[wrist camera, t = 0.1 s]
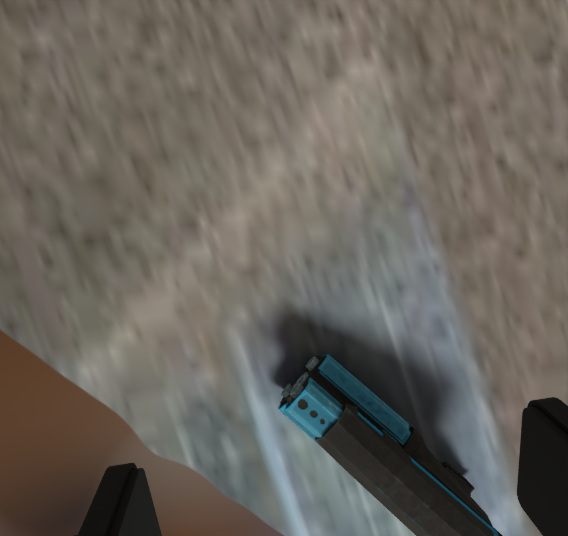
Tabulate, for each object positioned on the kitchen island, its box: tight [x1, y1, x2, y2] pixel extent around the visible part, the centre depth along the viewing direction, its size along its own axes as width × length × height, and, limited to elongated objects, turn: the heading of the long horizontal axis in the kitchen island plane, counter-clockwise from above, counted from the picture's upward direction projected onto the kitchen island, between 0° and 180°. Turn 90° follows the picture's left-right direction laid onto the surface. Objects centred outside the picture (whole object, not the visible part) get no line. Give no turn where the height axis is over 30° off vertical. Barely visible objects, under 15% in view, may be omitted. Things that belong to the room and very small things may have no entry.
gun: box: [279, 354, 502, 536], centre depth 43 cm, size 8×26×15 cm, turn 50°
